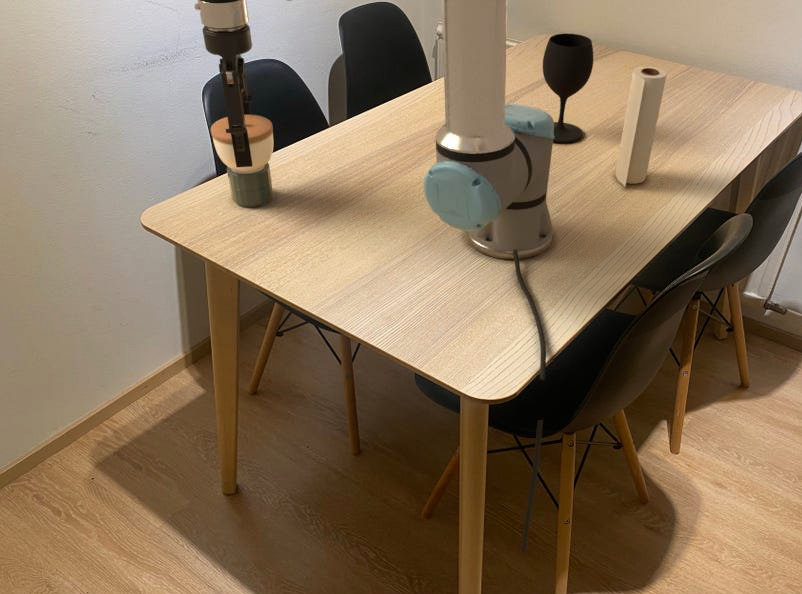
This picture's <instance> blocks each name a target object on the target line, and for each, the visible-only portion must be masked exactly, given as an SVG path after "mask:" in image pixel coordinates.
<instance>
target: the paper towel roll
mask: <svg viewBox="0 0 802 594" xmlns="http://www.w3.org/2000/svg"><path fill="white" fill-rule="evenodd" d="M666 79H667V72H666V71H665V70H664V69H662V68H659V67H654V66H638V67H636V68H634V69H633V70H632V76H631V81H630V86H629V87H630V88H629V93H628V99H627V105H626V111H625V116H624V123H623V129H622V133H621V140H620V145H619V151H618V156H617V163H616V169H615V178H616V179H617V181H618V182H619V183H620V184H621V185H623V186H624V188H626V186H627V184H632V185H633V184H634V185H635V184H641V183H643V182H645V180H646V178H647V174H648V168H649V163H650V159H651V154H652V148H653V144H654V140H655V133H656V130H657V129H656V128H657V124H658V119H659V115H660V109H661V105H662V100H663V95H664V90H665V84H666Z"/></svg>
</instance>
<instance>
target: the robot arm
mask: <svg viewBox="0 0 802 594" xmlns="http://www.w3.org/2000/svg"><path fill="white" fill-rule="evenodd" d="M287 1H292V0H287ZM247 3H248V2H247V0H197V3H194V10H196V11H200V12H199V17H200V20H201V24H202V25H203V28H202V34H203V41H204V48H205V50H206V51H207V53H209V54H211V55H214V56H218V57H221V58H219V64H218V69H219V74H220V77H221V83H222V85H221V86H222V89H223V92H224V100H225V108H226V109H225V110H226V117H228V124H229V129H226V133H230V134H231V137H232V143H233V149H234V155H235V161H236V167H252V159H251V152H250V146H249V139H248V133H247V129H246V127H245V118H244V115H252V114H251V107H250V103H253V96H252V95H249V89H248V85H247V80H246V69H245V68H246V66H245V65H246V64H245V58H244V57H242V55H243V54H246V53H248V52H250V51H251V50H252V47H253V41H252V33H251V28H250V25H249V24H248V23H249V21H250V17H249V9H248V4H247ZM507 17H508V0H441V21H442V49H443V51H442V53H443V79H444V81H443V82H444V85H443V86H444V108H445V109H444V112H445V113H444V114H445V115H444V116H445V118H444V119H445V123H444V125H442V127H440V128H439V130H437V132H436V134H435V157H436V163H434V164H432V165H431V166H430V168H429V169H428V170H427V172H426V174H425V176H424V179H423V193H424V197H425V200H426V202H427V205H428V206H429V207H430V209H431V211H432V212H433V213H434V214H435V215H437V216H438V218H439V219H440V220H441V221H442V222H443V223H444V224H446V225H448V226H449V227H451V228H454V229H456V230H460V231H465V238H466V240H467V243H468V244H469V245H470V246H471V247H472V248H473V249H474V250H475V251H477V252H479V253H481V254H483V255H486V256H489V257H492V258H495V259H496V258H497V259H502V260H503V259H504V260H513V262H514V269H515V274H516V277H517V281H518V283H519V285H520V286H519V287H521V290H522V292H523V294H524V296H525V297H526V300H527V301H528V303H529V304H528V305H529V307H530V309H531V312H532V315H533V318H534V321H535V325H536V328H537V332H538V339H539V346H540V357H539V359H540V360H539V363H540V364H539V368H540V369H539V379H540V380H541V381H545V380H546V375H547V373H546V372H547V371H546V370H547V369H546V368H547V346H546V338H545V333H544V328H543V324H542V320H541V318H540V315H539V311H538V309H537V306H536V304H535V302H534V299H533V297H532V295H531V292H530V291H529V289H528V287H527V285H526V284H525V281H524V278H523V276H522V271H521V265H520V260H524V259H529V258H534V257H536V256H539V255H541V254H543V253H544V252H546V251H547V250H548V249H549V248H550V246H551V244H552V241H553V234H554V230H553V223H552V219H551V215H550V211H549V207H548V202H547V196H548V195H547V194H548V186H549V178H550V170H551V162H552V161H551V160H552V154H553V145H554V142H553V139H554V122H555V121H554V118H553V117H552V116H551V115H550V114H549V113H548V112H547V111H545V110H542V109H541V108H537V107H534V106H530V105H525V104H518V103H506V81H507V80H506V77H507V76H506V75H507V73H506V72H507V21H508V18H507ZM234 125H236V126H234ZM543 424H544V419H538V420H537V424H536V434H535V444H534V454H533V460H532V461H533V462H532V469H531V478H530V484H529V490H528V499H527V506H526V513H525V519H524V526H523V533H522V541H521V548H520V552H521V554H526V552H527V545H528V537H529V532H530V531H529V530H530V523H531V518H532V512H533V511H532V510H533V504H534V497H535V490H536V484H537V477H538V469H539V461H540V454H541V445H542V436H543V426H544V425H543Z"/></svg>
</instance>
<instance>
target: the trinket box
mask: <svg viewBox="0 0 802 594" xmlns="http://www.w3.org/2000/svg"><path fill="white" fill-rule="evenodd" d="M244 118H245V127H246V129H247V133H248V139H249V146H250V152H251V159H252V167H236V161H235V155H234V149H233V143H232V137H231V134H230V133H226V129H229V124H228V117H227V116H225V117H222V118H220V119H218V120H216V121H215V122H213V124H212V125H211V127H210V134H211V137H212V140H213V145H214V148H215V151H216V154H217V156H218V157H219V159H220V161H221V162H222V163H223V164H224V165H225V166H228V167H229V168H231V169H232V171H234V172H236V173H239V174H252V173H256V172H259V171H261V170H262V169H264V167H265V165H266V164H267V163H269V161H270V160H271V158H272V156H273V152H274V146H275V145H274V127H273V122H272V121H271V120H270V119H268V118H266V116H265V117H264V116H262V115H258V114H251V115H244ZM234 126H236V125H234Z"/></svg>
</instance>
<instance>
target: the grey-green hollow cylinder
mask: <svg viewBox="0 0 802 594" xmlns="http://www.w3.org/2000/svg"><path fill="white" fill-rule="evenodd" d="M226 166H227V165H226ZM226 173H227V179H228V184H229V191H230V195H231V199H232V201H233V202H234V203H236V204H237V205H238V206H241V207H245V208H257V207H261V206H264V205H266V204H268V203H269V202H270V201H271V200H272V198H273V197H274V188H273V182H272V175H271V169H270V163H269V162H268V163H267V164H266V165H265V167H264V169H262V170H261V171H259V172H256V173H252V174H239V173H236V172H234V171H232V169H231V168H229V167H228V166H227V167H226Z"/></svg>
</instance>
